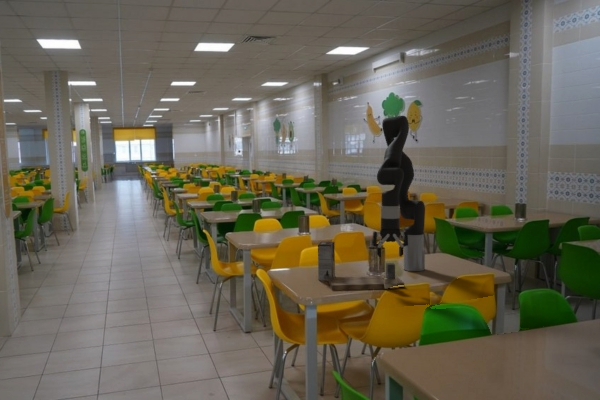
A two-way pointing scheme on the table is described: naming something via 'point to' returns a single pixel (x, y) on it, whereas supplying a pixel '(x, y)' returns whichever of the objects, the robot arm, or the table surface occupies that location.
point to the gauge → (389, 276)
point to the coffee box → (326, 260)
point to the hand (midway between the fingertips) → (390, 256)
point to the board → (359, 282)
